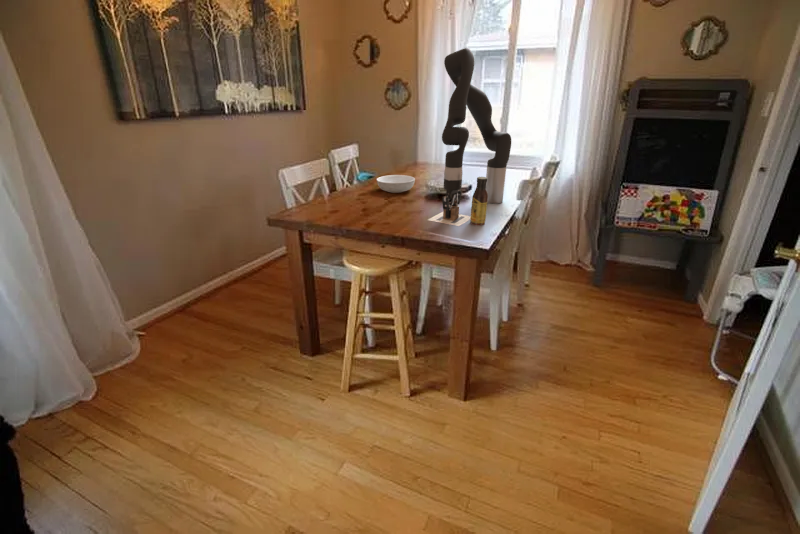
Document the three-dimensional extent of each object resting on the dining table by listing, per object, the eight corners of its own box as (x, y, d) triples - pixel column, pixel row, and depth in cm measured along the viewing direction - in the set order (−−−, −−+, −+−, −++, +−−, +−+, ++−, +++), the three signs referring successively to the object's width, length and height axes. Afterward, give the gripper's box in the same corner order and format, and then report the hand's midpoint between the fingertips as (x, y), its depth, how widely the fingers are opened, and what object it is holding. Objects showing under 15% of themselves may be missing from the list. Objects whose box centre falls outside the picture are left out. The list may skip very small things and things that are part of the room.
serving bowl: (391, 184, 234) (391, 173, 231) (421, 190, 222) (422, 177, 220) (369, 192, 218) (368, 179, 215) (400, 197, 207) (400, 184, 204)
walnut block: (448, 215, 176) (448, 204, 174) (458, 217, 174) (459, 206, 172) (443, 218, 172) (443, 207, 170) (453, 220, 170) (454, 209, 168)
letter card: (443, 212, 183) (443, 211, 183) (473, 218, 175) (473, 216, 175) (427, 221, 171) (427, 219, 171) (459, 227, 164) (459, 226, 164)
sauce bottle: (468, 222, 170) (471, 175, 162) (482, 222, 170) (487, 175, 162) (472, 227, 164) (476, 179, 156) (487, 227, 165) (491, 178, 156)
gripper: (452, 173, 173) (450, 211, 180) (436, 179, 162) (435, 219, 169) (468, 175, 169) (465, 214, 176) (453, 181, 158) (451, 222, 166)
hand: (450, 216), depth 173 cm, fingers closed on walnut block, 5 cm apart
